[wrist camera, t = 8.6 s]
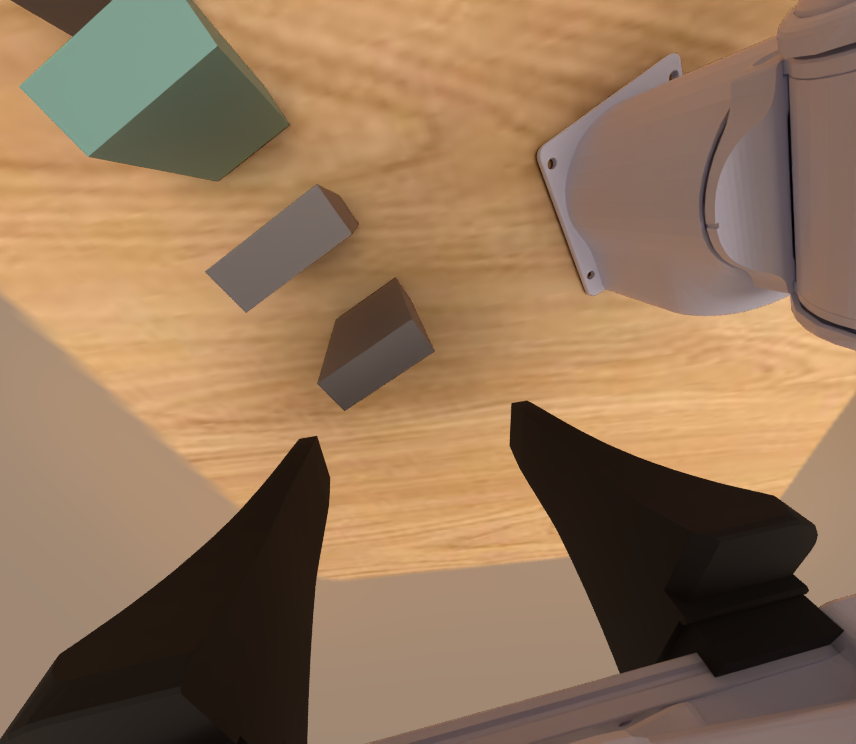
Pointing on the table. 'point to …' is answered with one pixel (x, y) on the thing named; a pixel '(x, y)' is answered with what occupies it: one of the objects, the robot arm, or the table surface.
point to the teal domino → (156, 91)
